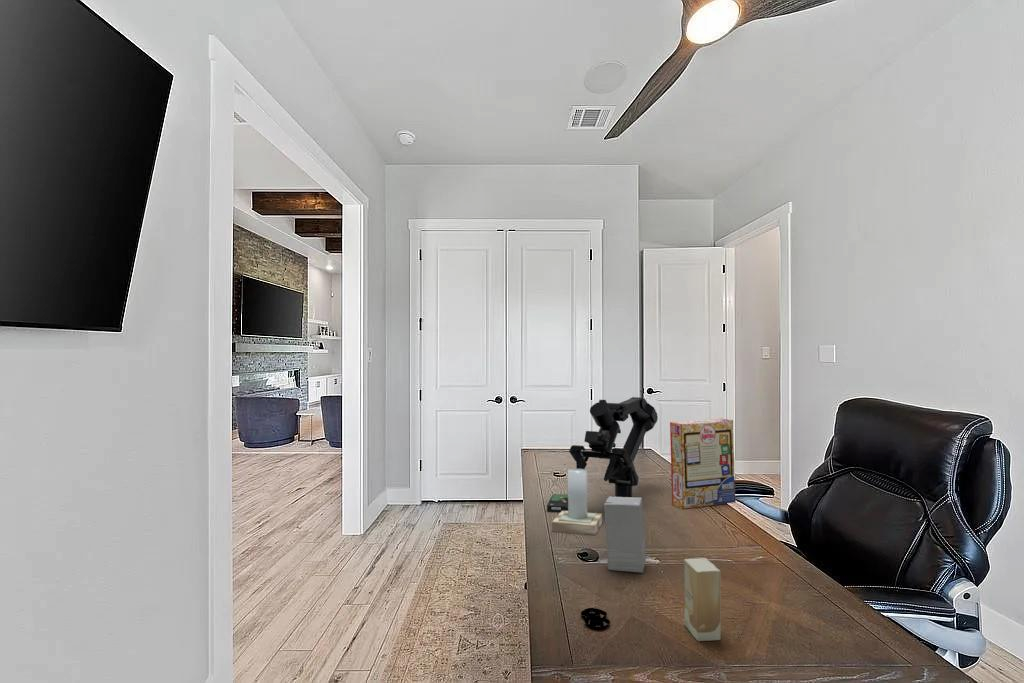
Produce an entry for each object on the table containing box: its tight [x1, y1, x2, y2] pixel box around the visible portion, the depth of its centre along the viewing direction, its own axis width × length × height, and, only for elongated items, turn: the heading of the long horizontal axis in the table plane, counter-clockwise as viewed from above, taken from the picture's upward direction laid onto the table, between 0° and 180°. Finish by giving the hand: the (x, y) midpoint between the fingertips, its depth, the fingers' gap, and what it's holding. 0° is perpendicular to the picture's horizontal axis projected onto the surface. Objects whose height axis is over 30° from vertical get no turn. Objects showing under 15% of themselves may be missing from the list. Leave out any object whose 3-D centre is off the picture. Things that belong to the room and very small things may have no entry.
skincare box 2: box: [683, 557, 722, 642], centre depth 103 cm, size 6×4×12 cm
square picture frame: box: [551, 510, 603, 536], centre depth 165 cm, size 12×12×3 cm
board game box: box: [669, 417, 736, 510], centre depth 187 cm, size 20×6×27 cm, turn 108°
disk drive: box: [546, 493, 568, 514], centre depth 186 cm, size 10×3×15 cm
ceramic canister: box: [567, 468, 589, 519], centre depth 165 cm, size 6×6×13 cm
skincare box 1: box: [603, 495, 647, 574], centre depth 134 cm, size 8×7×16 cm
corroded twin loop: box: [580, 607, 611, 631], centre depth 108 cm, size 5×8×1 cm, turn 3°
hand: (591, 479), depth 171 cm, fingers open, 9 cm apart
